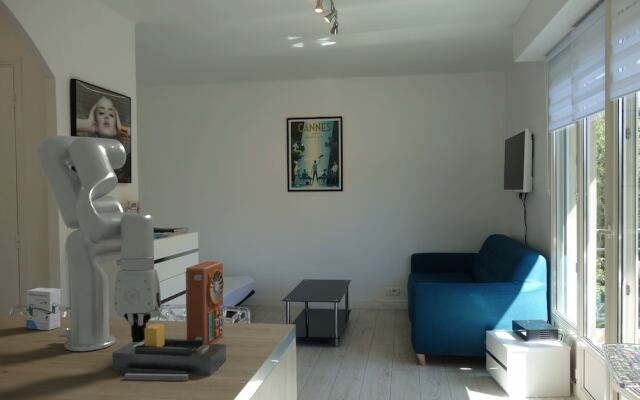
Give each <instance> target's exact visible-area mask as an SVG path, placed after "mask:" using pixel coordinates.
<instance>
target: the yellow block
mask: <svg viewBox="0 0 640 400" xmlns="http://www.w3.org/2000/svg"><path fill="white" fill-rule="evenodd" d="M164 338H165V324H164V323H151V324H149V325H148V326H146V328H145V340H144V341H145V346H159V347H162V346H163V345H165V340H164Z"/></svg>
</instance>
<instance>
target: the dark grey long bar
mask: <svg viewBox="0 0 640 400" xmlns="http://www.w3.org/2000/svg"><path fill="white" fill-rule="evenodd" d="M117 372H118V373H117V374H118V375H122V376H125V374H126V373H134V374H187V371H176V370H158V369H140V368H122V367H121V368H120V369H118V370H117Z"/></svg>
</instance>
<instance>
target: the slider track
mask: <svg viewBox="0 0 640 400" xmlns="http://www.w3.org/2000/svg"><path fill="white" fill-rule="evenodd" d="M164 340H165V345H163V346H162V347H159V346H145V340H143V341H141V342H132V341H131V342H129V343H127V344H126V345H124V346H122V347H120V348H119V349H116V350H114V351H113V352H112V370H114V371H118V369H120V368H121V367H122V368H140V369H158V370H176V371H187V374H188V375H200V376H212V375H213V374H214V373H215V372H216V371H217V370H218V369H219V368H220V367H222V365H223V364H225V362H227V344H225V343H213V344H205V340H190V339H187V338H185V339H184V338H169V337H168V338H165V337H164Z"/></svg>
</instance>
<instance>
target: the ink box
mask: <svg viewBox="0 0 640 400" xmlns="http://www.w3.org/2000/svg"><path fill="white" fill-rule="evenodd" d="M61 293H62V292H61V289H60V288H55V287H53V288H52V287H37V288H32V289H28V290H26V316H25V317H26V319H25V320H26V324H25V325H26V326H25V327H26V328H25V329H30V330H41V331H42V330H43V331H51V330H53V329H56V328H60V327H61V300H62V299H61V297H62V296H61Z"/></svg>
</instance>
